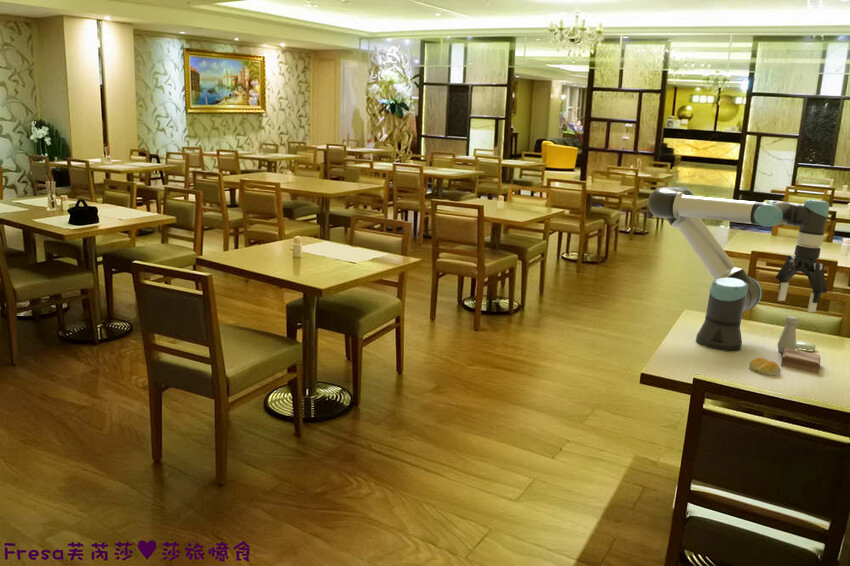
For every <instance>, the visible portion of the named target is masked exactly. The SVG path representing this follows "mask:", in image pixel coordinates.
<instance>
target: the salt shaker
mask: <svg viewBox="0 0 850 566" xmlns="http://www.w3.org/2000/svg"><path fill="white" fill-rule="evenodd" d="M784 322H785V325H784V327H783V330H782V332H781V335H780V336H779V339H778V341H777V349H778V352H779V353H781V354H783V353H784V349H786V348H789V349H794V350H797V348H796V340H797V337H796V336H797V332H796V331H797V328H796V327H797V326H798V325H799V323H800V319H799V318H798V317H796V316H792V315H788V316H785V318H784Z"/></svg>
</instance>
